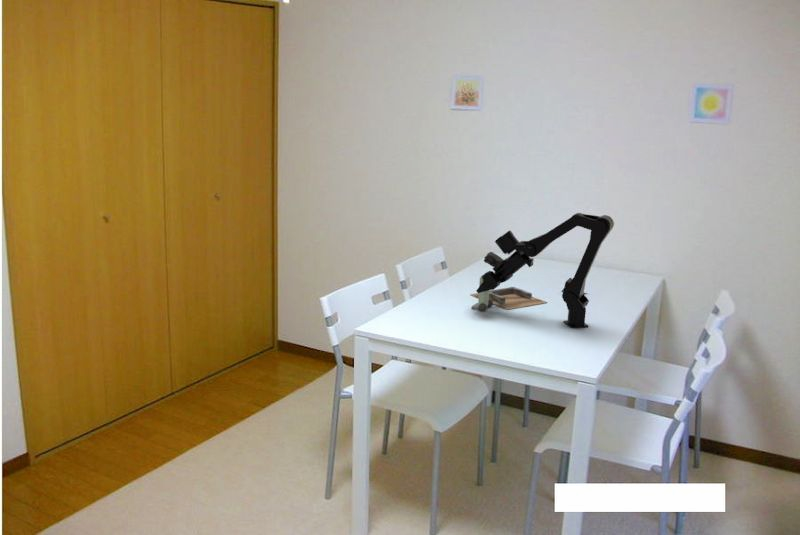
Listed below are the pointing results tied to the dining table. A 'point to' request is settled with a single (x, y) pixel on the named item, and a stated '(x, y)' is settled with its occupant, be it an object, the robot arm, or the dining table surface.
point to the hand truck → (483, 300)
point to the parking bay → (512, 298)
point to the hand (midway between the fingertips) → (481, 289)
